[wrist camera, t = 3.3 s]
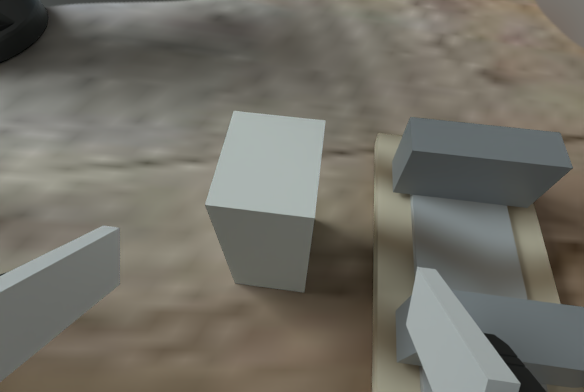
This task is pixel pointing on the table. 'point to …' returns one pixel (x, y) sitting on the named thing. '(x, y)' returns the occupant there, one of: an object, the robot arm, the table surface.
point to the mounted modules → (503, 191)
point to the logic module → (267, 198)
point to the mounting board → (446, 260)
